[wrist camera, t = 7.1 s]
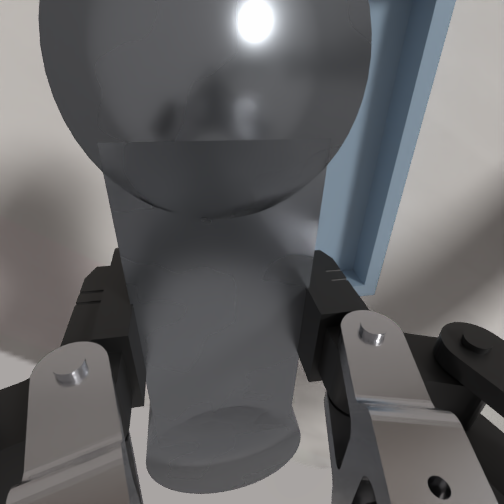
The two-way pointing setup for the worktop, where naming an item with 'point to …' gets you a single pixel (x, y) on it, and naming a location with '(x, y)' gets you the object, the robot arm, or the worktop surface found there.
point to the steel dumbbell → (212, 200)
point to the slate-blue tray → (381, 137)
